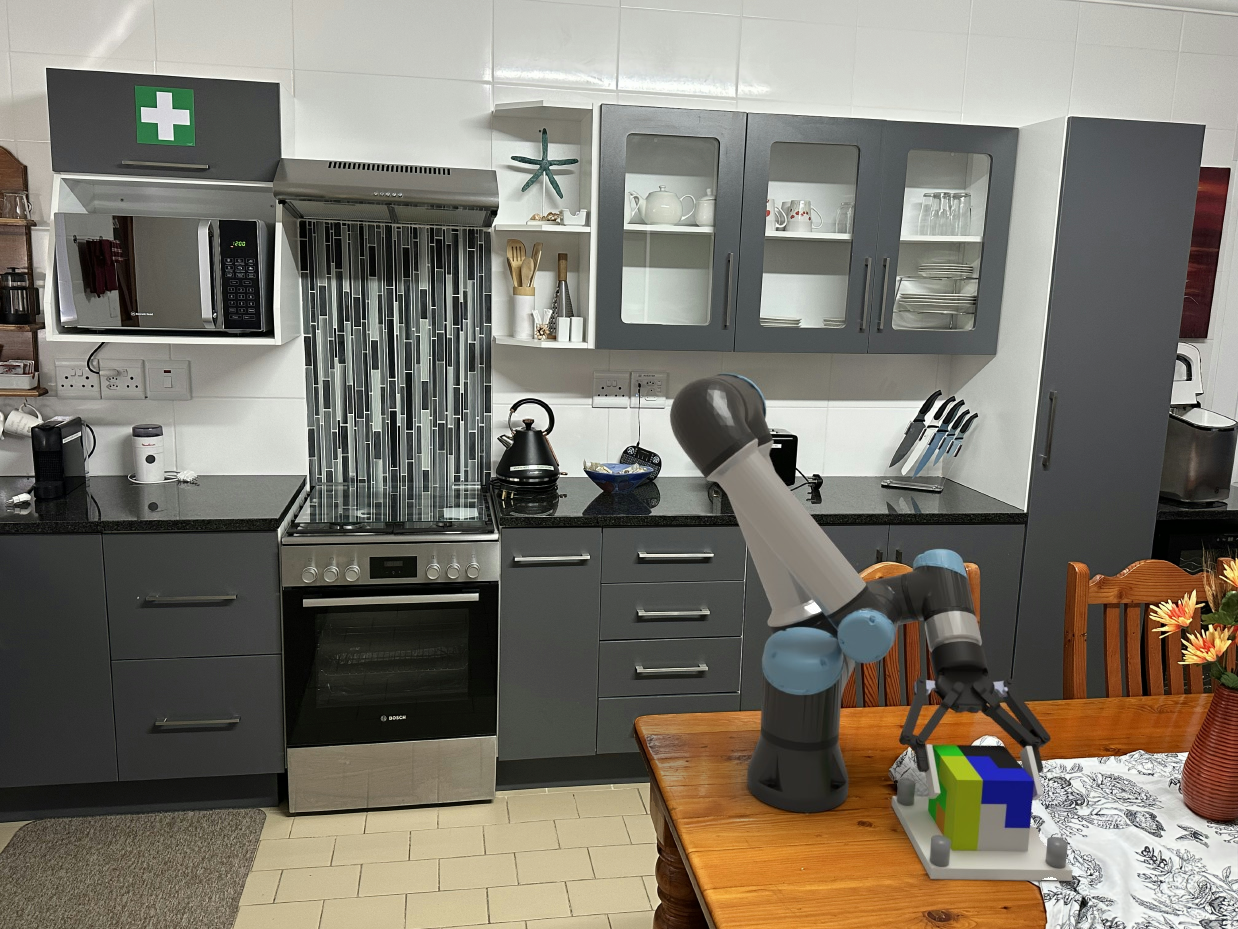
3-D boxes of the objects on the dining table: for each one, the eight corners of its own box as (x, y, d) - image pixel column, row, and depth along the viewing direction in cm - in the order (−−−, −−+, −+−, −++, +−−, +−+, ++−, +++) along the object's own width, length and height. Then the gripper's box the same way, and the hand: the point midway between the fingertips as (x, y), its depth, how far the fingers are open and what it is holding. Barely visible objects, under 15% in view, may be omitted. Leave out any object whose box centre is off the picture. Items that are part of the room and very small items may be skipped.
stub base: (930, 879, 121) (933, 846, 120) (891, 805, 139) (893, 777, 138) (1071, 881, 121) (1074, 848, 120) (1014, 807, 139) (1016, 778, 138)
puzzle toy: (1027, 851, 125) (1034, 781, 123) (951, 850, 125) (957, 780, 123) (998, 811, 135) (1003, 745, 133) (928, 810, 135) (932, 744, 133)
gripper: (1031, 661, 142) (1068, 806, 129) (865, 658, 142) (885, 803, 130) (1050, 639, 136) (1090, 790, 123) (876, 637, 136) (899, 786, 124)
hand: (985, 797), depth 126 cm, fingers open, 13 cm apart
